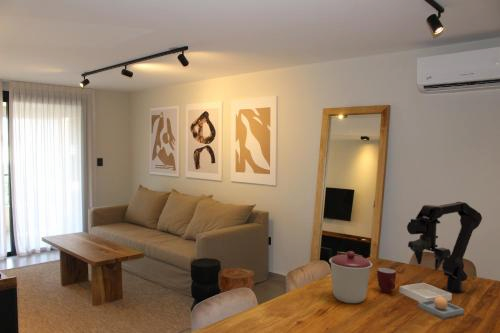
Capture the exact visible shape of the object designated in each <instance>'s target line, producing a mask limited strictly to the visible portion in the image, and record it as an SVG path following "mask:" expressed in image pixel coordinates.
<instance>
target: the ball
mask: <svg viewBox="0 0 500 333" xmlns="http://www.w3.org/2000/svg"><path fill="white" fill-rule="evenodd" d="M447 302H448V301H447V300H446V299H445V298H443V297H436V298H435V300H434V305H435V306H436V307H437V308H438V309H445V308H446V307H447Z"/></svg>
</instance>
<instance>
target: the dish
mask: <svg viewBox="0 0 500 333" xmlns="http://www.w3.org/2000/svg"><path fill="white" fill-rule="evenodd" d="M398 292H399V294H401V295H404V296H406V297H408V298H410V299H412V300H414V301H417V302H422V301H427V300H433V299H435V298H436V297H443V298H445V299H446V300H447V302H449V301H452V299H453V298H452V297H453V294H452V292H450V291H446V290H445V289H444V290H443V289H441V288H439V287H437V286H434V285H430V284H428V283H425V282H420V283H419V282H418V283H412V284H406V285H399V291H398Z"/></svg>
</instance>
